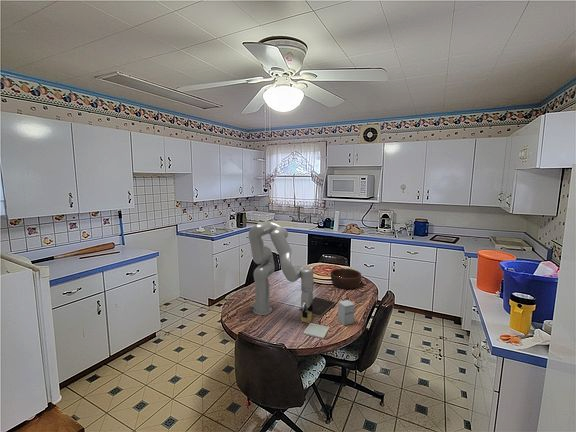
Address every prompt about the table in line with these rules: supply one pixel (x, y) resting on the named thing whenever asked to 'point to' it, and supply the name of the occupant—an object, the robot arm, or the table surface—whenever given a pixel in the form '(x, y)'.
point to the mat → (316, 330)
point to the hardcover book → (320, 306)
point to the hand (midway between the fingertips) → (307, 314)
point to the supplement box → (345, 312)
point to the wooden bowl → (345, 278)
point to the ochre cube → (307, 317)
